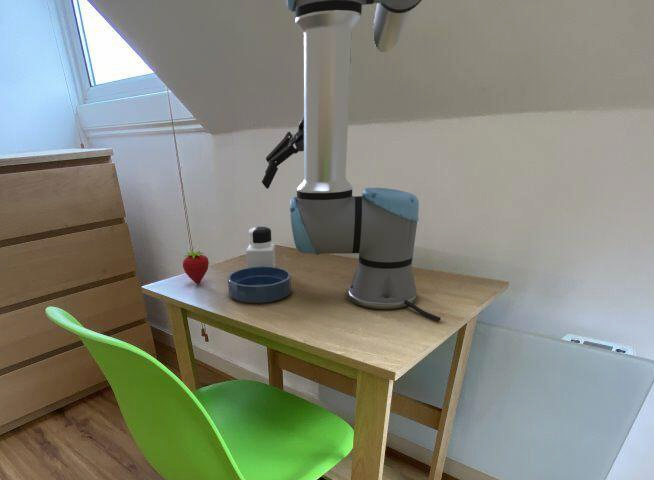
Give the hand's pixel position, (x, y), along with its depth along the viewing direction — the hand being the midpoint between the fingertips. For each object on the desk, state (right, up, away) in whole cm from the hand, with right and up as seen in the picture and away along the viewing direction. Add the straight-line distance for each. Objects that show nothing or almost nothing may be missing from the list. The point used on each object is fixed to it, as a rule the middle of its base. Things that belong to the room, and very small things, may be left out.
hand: (283, 187), depth 118 cm
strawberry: (-23, -27, -2) cm, 35 cm away
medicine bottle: (-6, -22, +4) cm, 23 cm away
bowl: (-6, -31, -10) cm, 33 cm away
